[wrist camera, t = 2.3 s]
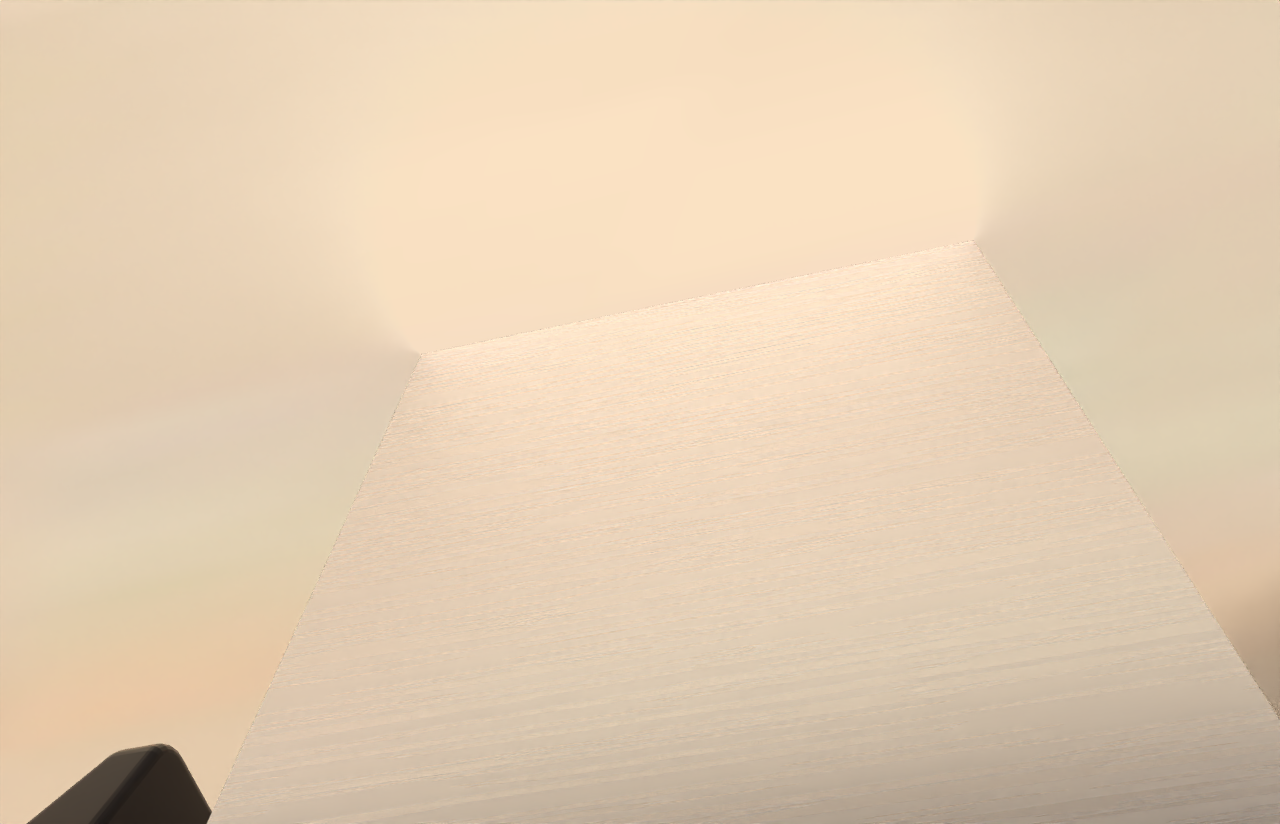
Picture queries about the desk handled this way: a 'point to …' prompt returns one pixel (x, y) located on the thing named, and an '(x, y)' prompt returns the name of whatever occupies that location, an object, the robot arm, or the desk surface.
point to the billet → (757, 586)
